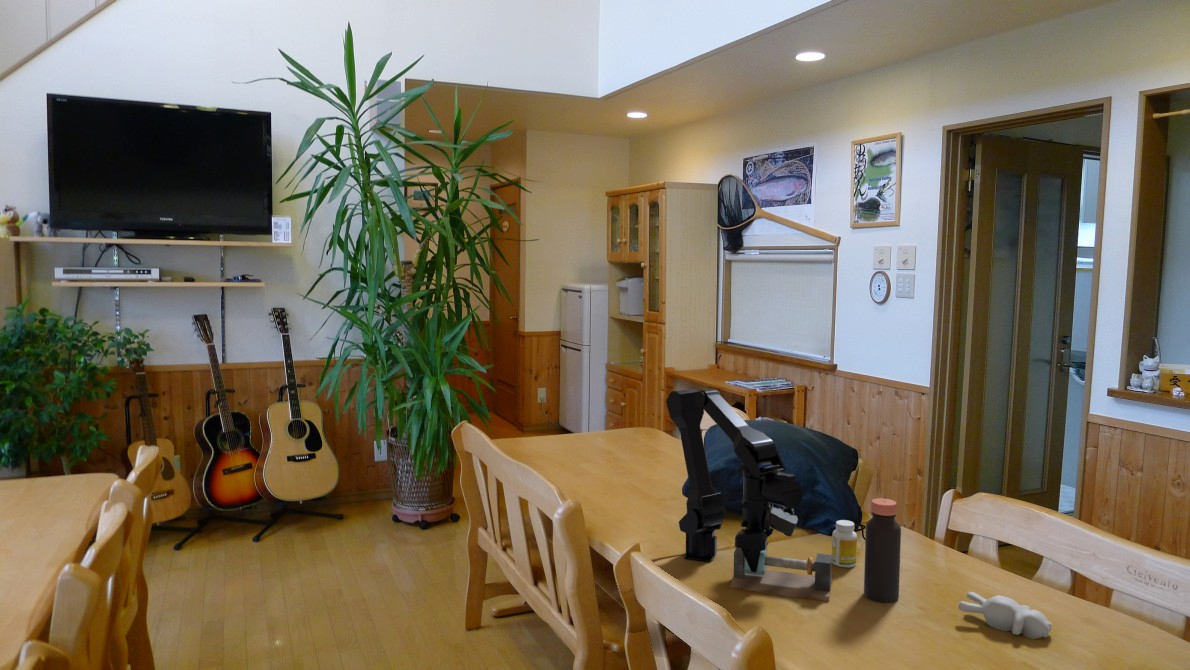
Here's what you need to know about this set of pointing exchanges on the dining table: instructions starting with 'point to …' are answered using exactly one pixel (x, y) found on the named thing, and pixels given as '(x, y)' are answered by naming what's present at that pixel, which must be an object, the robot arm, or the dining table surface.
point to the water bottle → (882, 552)
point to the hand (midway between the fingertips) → (755, 567)
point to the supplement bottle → (844, 544)
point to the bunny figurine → (1008, 615)
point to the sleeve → (761, 566)
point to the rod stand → (786, 577)
